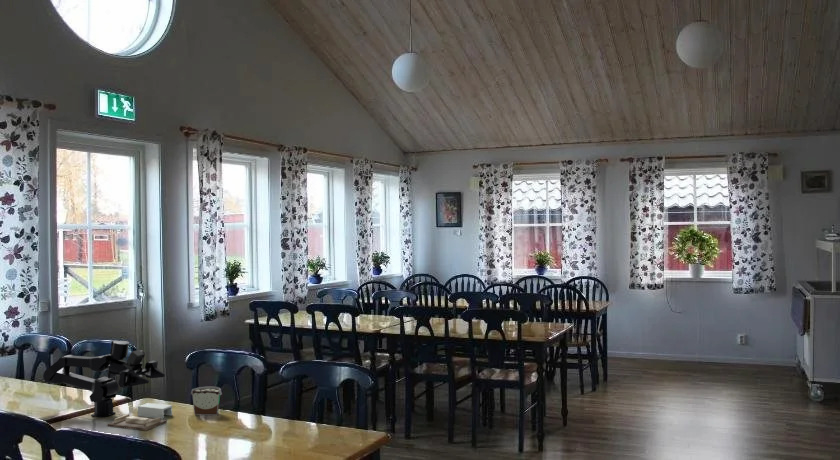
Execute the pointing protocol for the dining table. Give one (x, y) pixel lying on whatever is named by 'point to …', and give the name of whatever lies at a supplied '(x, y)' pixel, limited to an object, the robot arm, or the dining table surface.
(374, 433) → the dining table surface
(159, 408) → the shell
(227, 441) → the dining table surface
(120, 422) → the dock
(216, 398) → the food container
